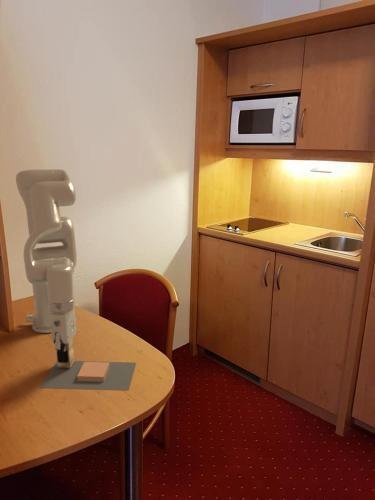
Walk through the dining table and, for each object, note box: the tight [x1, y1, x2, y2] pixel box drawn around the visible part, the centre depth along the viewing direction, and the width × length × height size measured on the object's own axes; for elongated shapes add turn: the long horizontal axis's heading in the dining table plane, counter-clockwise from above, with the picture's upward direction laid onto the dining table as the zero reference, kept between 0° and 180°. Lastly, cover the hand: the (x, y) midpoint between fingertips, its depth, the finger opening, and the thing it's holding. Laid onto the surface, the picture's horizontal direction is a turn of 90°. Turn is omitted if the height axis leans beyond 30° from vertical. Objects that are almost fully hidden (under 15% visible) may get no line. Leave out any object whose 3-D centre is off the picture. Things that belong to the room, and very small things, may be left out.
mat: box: [39, 360, 137, 391], centre depth 123 cm, size 26×15×1 cm, turn 88°
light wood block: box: [55, 337, 75, 368], centre depth 126 cm, size 4×4×11 cm
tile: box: [77, 361, 110, 382], centre depth 123 cm, size 2×8×8 cm
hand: (65, 357), depth 126 cm, fingers closed on light wood block, 3 cm apart
